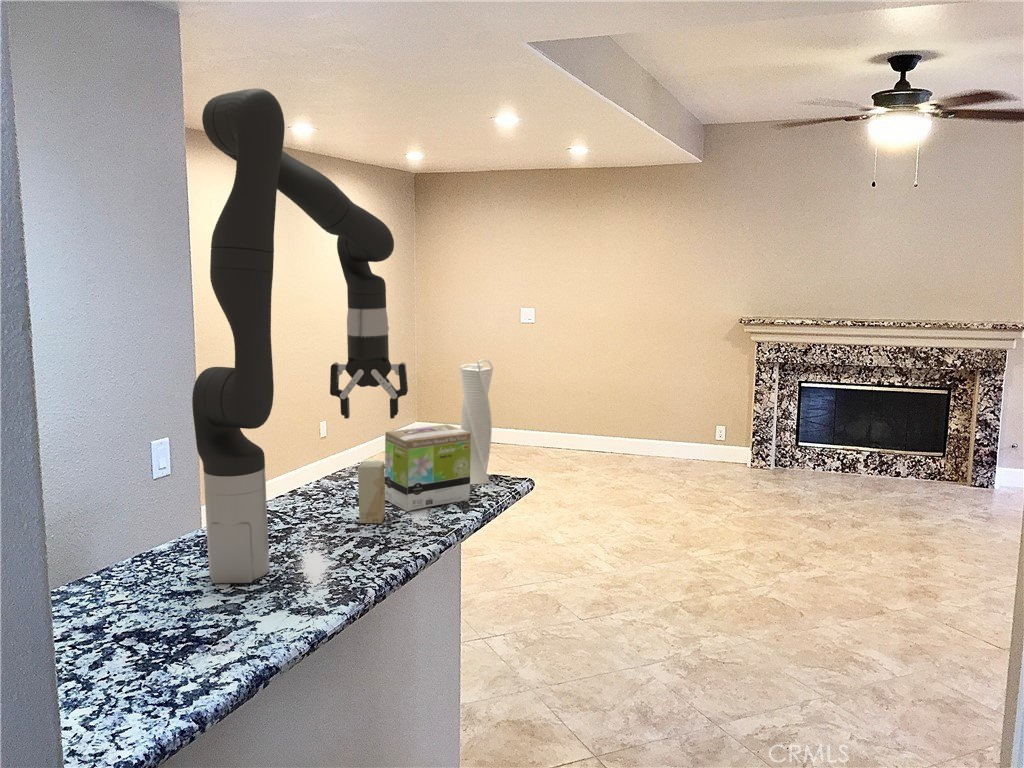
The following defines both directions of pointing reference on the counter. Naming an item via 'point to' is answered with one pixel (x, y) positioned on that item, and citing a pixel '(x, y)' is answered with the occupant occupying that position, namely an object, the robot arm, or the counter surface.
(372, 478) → the box
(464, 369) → the skyscraper
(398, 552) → the counter surface
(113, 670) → the counter surface
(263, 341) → the robot arm
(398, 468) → the tea box
